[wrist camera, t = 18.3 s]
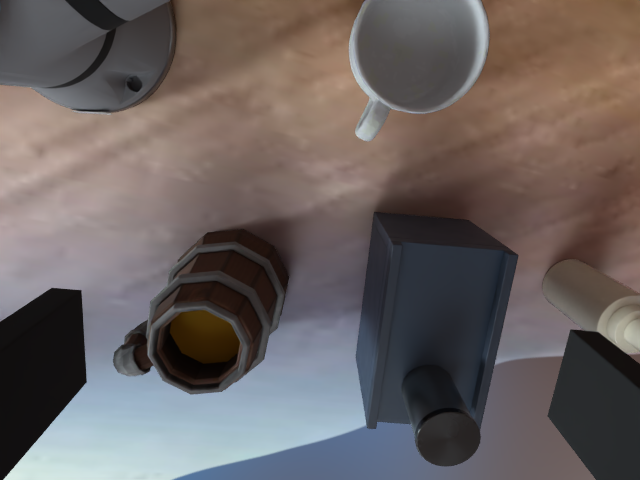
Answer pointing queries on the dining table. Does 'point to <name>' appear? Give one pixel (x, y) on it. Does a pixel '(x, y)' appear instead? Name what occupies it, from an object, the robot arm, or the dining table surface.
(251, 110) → the dining table surface
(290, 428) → the dining table surface
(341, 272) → the dining table surface
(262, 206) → the dining table surface
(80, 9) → the robot arm
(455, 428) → the spice tin
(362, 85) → the teacup
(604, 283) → the oil bottle
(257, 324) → the mug
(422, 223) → the blue channel bracket
